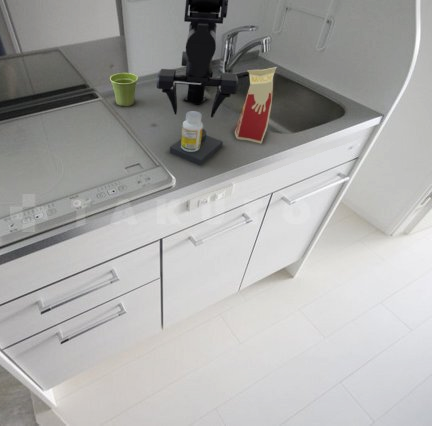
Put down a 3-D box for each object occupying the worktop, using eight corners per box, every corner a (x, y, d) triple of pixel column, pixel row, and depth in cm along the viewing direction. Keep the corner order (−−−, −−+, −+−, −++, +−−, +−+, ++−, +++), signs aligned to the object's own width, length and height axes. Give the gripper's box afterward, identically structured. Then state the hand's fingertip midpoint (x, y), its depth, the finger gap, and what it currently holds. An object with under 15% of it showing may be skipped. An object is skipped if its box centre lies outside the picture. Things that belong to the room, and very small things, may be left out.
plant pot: (143, 104, 107) (143, 79, 101) (120, 111, 103) (118, 85, 97) (130, 95, 112) (129, 70, 106) (107, 101, 108) (104, 76, 102)
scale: (191, 135, 92) (192, 124, 90) (221, 147, 88) (224, 136, 85) (168, 152, 85) (168, 141, 83) (200, 166, 81) (201, 154, 78)
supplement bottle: (188, 154, 81) (191, 121, 75) (176, 145, 84) (179, 112, 78) (204, 148, 83) (208, 116, 77) (192, 140, 87) (195, 108, 80)
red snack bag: (265, 129, 96) (285, 62, 82) (262, 144, 89) (283, 74, 75) (236, 124, 98) (251, 58, 84) (232, 138, 91) (246, 69, 77)
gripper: (241, 40, 72) (229, 104, 83) (163, 36, 73) (161, 99, 84) (244, 55, 64) (230, 124, 75) (156, 50, 65) (155, 117, 76)
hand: (193, 115), depth 78 cm, fingers open, 9 cm apart
